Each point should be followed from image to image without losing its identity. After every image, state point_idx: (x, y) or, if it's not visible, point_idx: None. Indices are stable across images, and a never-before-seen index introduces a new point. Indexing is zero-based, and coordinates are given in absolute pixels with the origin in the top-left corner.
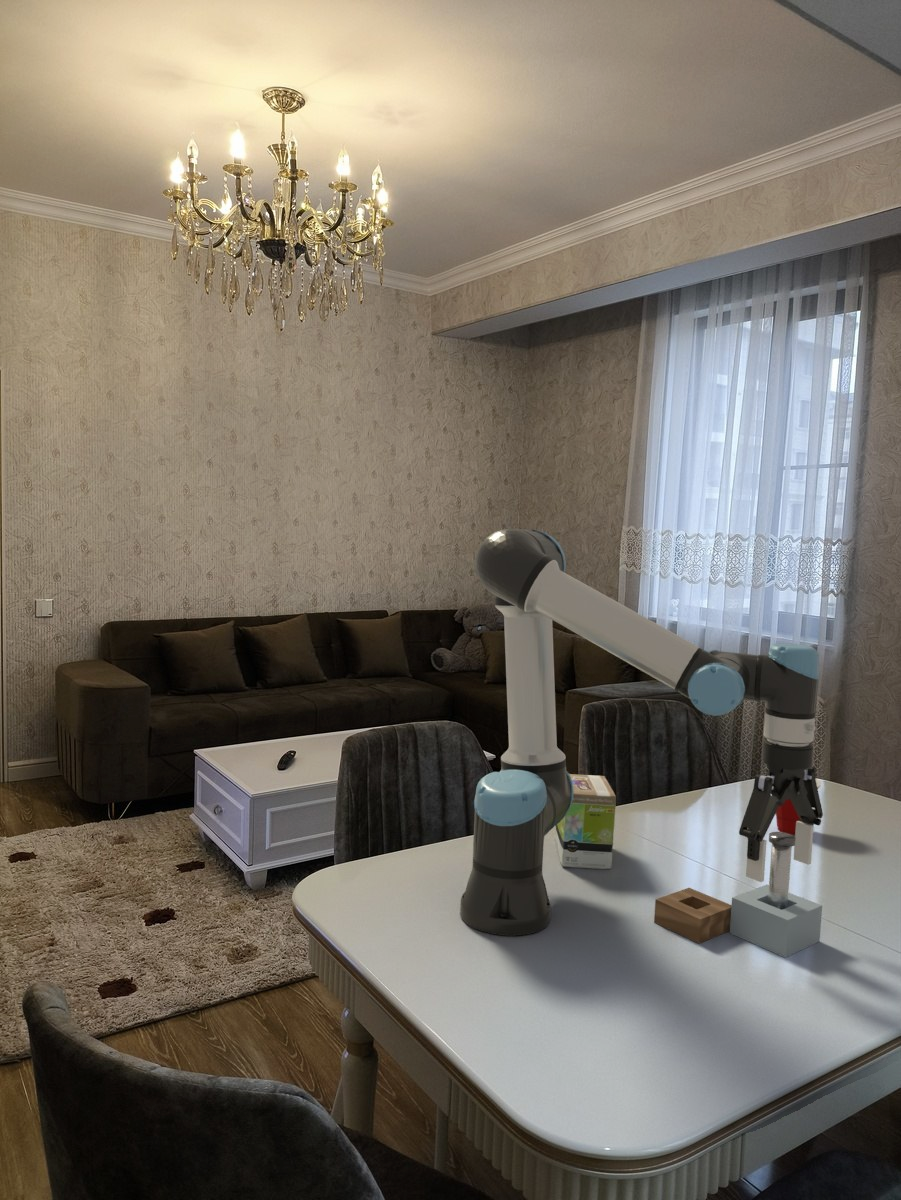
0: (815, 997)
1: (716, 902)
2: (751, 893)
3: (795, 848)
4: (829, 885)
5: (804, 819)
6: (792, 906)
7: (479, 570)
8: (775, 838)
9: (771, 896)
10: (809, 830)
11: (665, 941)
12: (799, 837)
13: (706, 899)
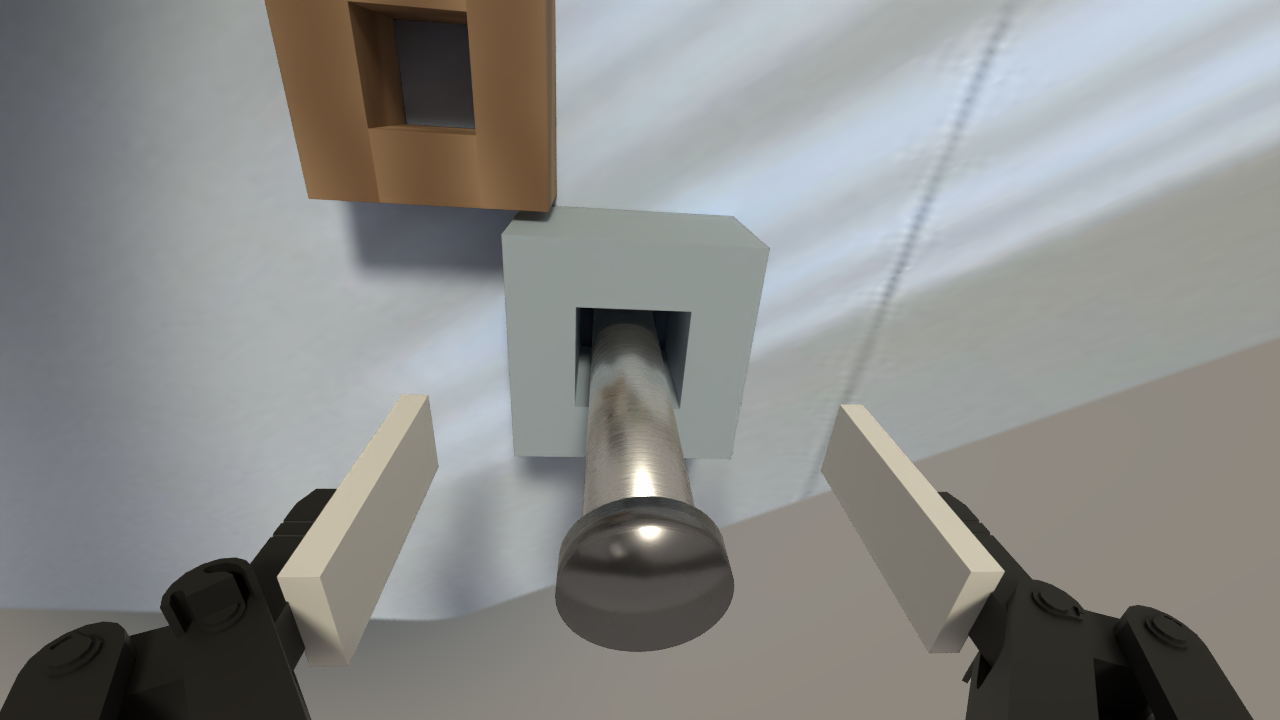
0: (419, 511)
1: (513, 140)
2: (618, 261)
3: (867, 446)
4: (1192, 209)
5: (1003, 626)
6: None
7: None
8: (556, 596)
9: (591, 372)
10: (913, 616)
11: (240, 89)
12: (899, 512)
13: (497, 88)
